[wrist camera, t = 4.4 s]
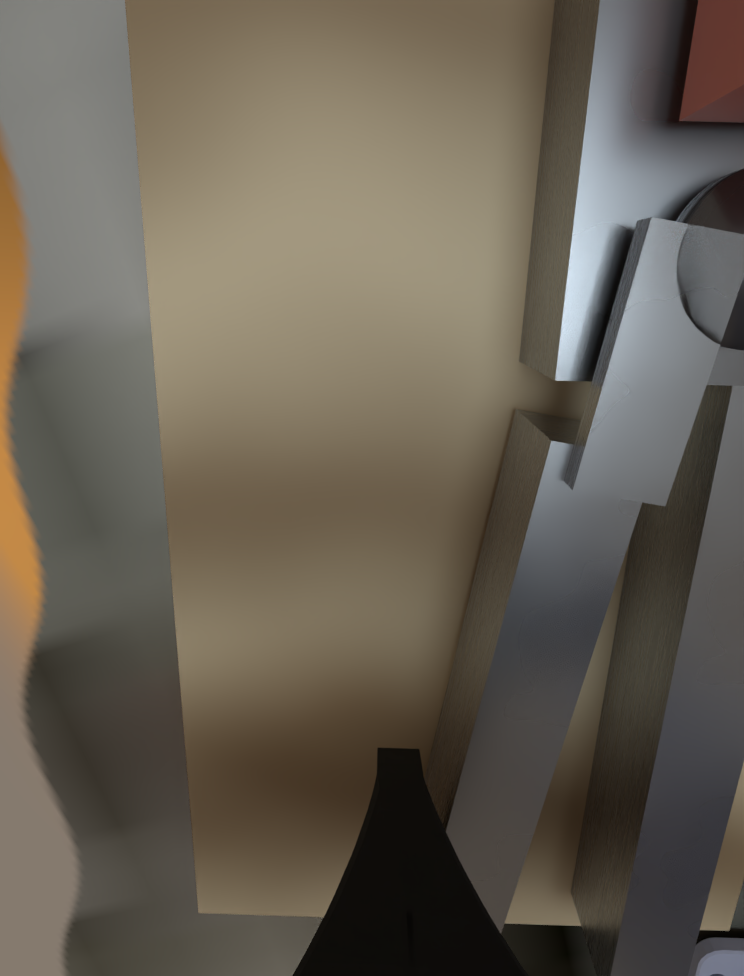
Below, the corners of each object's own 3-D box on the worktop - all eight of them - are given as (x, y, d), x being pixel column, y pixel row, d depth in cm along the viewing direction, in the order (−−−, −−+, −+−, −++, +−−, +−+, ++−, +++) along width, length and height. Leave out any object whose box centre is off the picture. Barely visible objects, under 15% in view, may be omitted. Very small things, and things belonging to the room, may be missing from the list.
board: (702, 882, 15) (729, 930, 14) (212, 866, 15) (198, 913, 14) (927, 2, 10) (1002, -37, 8) (151, -18, 10) (120, -60, 8)
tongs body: (647, 894, 14) (696, 1005, 12) (466, 888, 14) (482, 997, 12) (854, -40, 8) (1010, -150, 6) (559, -48, 8) (618, -160, 6)
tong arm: (520, 903, 13) (551, 1043, 11) (397, 885, 13) (401, 1024, 11) (752, 208, 9) (891, 177, 7) (574, 174, 9) (647, 130, 6)
